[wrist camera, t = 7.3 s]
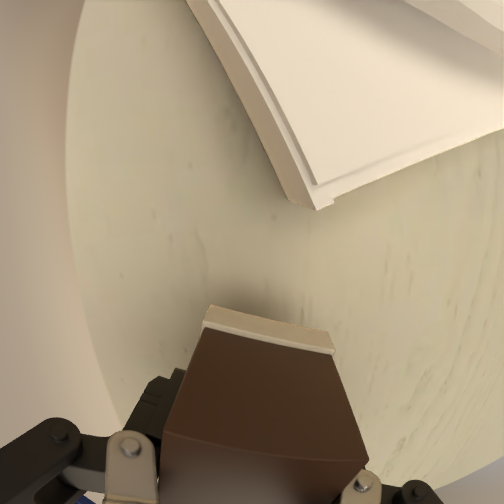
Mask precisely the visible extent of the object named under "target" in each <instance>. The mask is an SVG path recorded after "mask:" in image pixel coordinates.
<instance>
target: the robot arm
mask: <svg viewBox="0 0 504 504" xmlns="http://www.w3.org/2000/svg"><path fill="white" fill-rule="evenodd" d="M185 373H186V370H182V369H179V368H175V369H174V371H173V374H172V376H171V378H170V379H167V378H164V377H161V376H158V377H156V378H155V379H153V380H152V381H150V382H149V383H148V385H147V387H146V388H145V390H144V393H143V394H142V396H141V397H140V400H139V401H138V403H137V405H136V407H135V408H134V410H133V412H132V414H131V416H130V418H129V419H128V421H127V423H126V425H125V427H124V428H123V430H122V431H119V432H116V433H114V434H113V435H111V436H109V437H97V436H91V435H86V434H81V433H80V431H79V429H78V428H77V426H76V425H74V424H73V423H72V422H70V421H69V420H66V419H63V418H57V417H56V418H49V419H46V420H44V421H43V422H41V423H40V424H38V425H37V426H35V427H34V428H32V429H30V430H29V431H27V432H26V433H24V434H23V435H21V436H20V437H18V438H16V439H15V440H13V441H12V442H10V443H9V444H7V445H6V446H4V447H2V448H1V449H0V504H77V503H75V502H76V501H77V500H78V499H79V498H80V497H81V496H82V495H84V494H85V493H86V492H87V491H92V492H98V493H104V494H105V497H104V499H103V501H102V504H160V500H159V492H158V483H157V479H158V477H159V466H160V454H161V443H162V433H163V429H164V426H165V423H166V421H167V418H168V416H169V413H170V411H171V408H172V406H173V403H174V401H175V398H176V396H177V393H178V391H179V388H180V386H181V383H182V381H183V378H184V376H185ZM330 504H443V502H442V501H441V500H440V499H439V497H438V496H437V495H436V493H435V492H434V491H433V490H432V488H431V487H430V486H429V485H428V484H427V483H425V482H423V481H420V480H410V481H408V482H406V483H405V484H404V485H403V486H402V487H395V486H390V485H384V484H381V481H380V479H379V478H378V477H377V476H376V475H375V474H374V473H372V472H370V471H368V470H366V469H365V466H364V467H363V469H362V470H361V471H360V472H359V473H358V474H357V476H356V477H355V478H354V479H353V480H352V481H351V482H350V484H349V485H348V486H347V487H346V488H345V489H344V490H343V491H342V492H341V493H340V494H339V495H338V496H337V497H336V498H335V499H334V500H333V501H332V502H331V503H330Z"/></svg>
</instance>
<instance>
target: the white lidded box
mask: <svg viewBox="0 0 504 504" xmlns="http://www.w3.org/2000/svg"><path fill="white" fill-rule="evenodd" d="M185 1H186V2H187V4H188V6H189V7H190V9H191V11H192V12H193V14H194V16H195V18H196V19H197V21H198V23H199V25H200V26H201V28H202V30H203V32H204V33H205V35H206V37H207V39H208V40H209V42H210V44H211V46H212V48H213V49H214V51H215V53H216V55H217V57H218V59H219V60H220V62H221V64H222V66H223V68H224V70H225V72H226V74H227V75H228V77H229V79H230V81H231V83H232V85H233V87H234V89H235V91H236V93H237V95H238V97H239V98H240V100H241V102H242V104H243V106H244V108H245V110H246V112H247V114H248V116H249V118H250V120H251V122H252V124H253V126H254V129H255V131H256V133H257V135H258V137H259V139H260V141H261V143H262V145H263V147H264V149H265V151H266V153H267V156H268V158H269V160H270V162H271V164H272V166H273V168H274V171H275V173H276V175H277V177H278V179H279V182H280V184H281V186H282V188H283V190H284V193H285V195H286V197H287V199H289V201H291V202H294V203H297V204H300V205H302V206H305V207H308V208H310V209H313V210H316V211H317V210H320V209H322V208H324V207H327V206H329V205H331V204H334V201H333V198H335V197H337V196H339V195H342V194H344V193H346V192H349V191H351V190H353V189H356V188H358V187H360V186H363V185H365V184H367V183H370V182H372V181H375V180H377V179H379V178H382V177H384V176H386V175H389V174H391V173H394V172H396V171H398V170H401V169H403V168H406V167H408V166H410V165H413V164H415V163H418V162H420V161H422V160H425V159H427V158H430V157H432V156H435V155H437V154H440V153H442V152H445V151H447V150H449V149H452V148H454V147H457V146H459V145H462V144H464V143H467V142H469V141H472V140H474V139H477V138H479V137H482V136H484V135H487V134H489V133H492V132H495V131H497V130H500V129H502V128H504V0H185Z"/></svg>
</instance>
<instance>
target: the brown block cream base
mask: <svg viewBox="0 0 504 504" xmlns="http://www.w3.org/2000/svg"><path fill="white" fill-rule="evenodd" d="M334 353H335V348H334V345H333V343H332V341H331V338H330V336H329V334H328V332H326V331H321V330H316V329H311V328H307V327H302V326H297V325H293V324H288V323H284V322H279V321H275V320H271V319H266V318H262V317H258V316H254V315H250V314H246V313H242V312H238V311H234V310H230V309H226V308H222V307H218V306H214V305H210V306H209V308H208V310H207V312H206V315H205V317H204V319H203V322H202V327H201V331H200V336H199V341H198V344H197V346H196V349H195V351H194V353H193V356H192V358H191V361H190V363H189V366H188V368H187V371H186V373H185V376H184V378H183V381H182V383H181V386H180V388H179V391H178V393H177V396H176V398H175V401H174V403H173V406H172V408H171V411H170V413H169V416H168V418H167V421H166V423H165V426H164V429H163V433H162V443H161V454H160V466H159V479H158V492H159V500H160V504H330V503H331V502H332V501H333V500H334V499H335V498H336V497H337V496H338V495H339V494H340V493H341V492H342V491H343V490H344V489H345V488H346V487H347V486H348V485H349V484H350V482H351V481H352V480H353V479H354V478H355V477H356V476H357V474H358V473H359V472H360V471H361V470H362V469H363V467H364V466H365V465H366V464H367V463H368V461H369V457H368V454H367V451H366V448H365V445H364V442H363V440H362V437H361V434H360V431H359V428H358V425H357V423H356V420H355V417H354V414H353V412H352V409H351V406H350V403H349V401H348V398H347V395H346V392H345V390H344V387H343V384H342V382H341V379H340V376H339V374H338V371H337V369H336V366H335V363H334V361H333V358H332V357H333V355H334Z"/></svg>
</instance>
